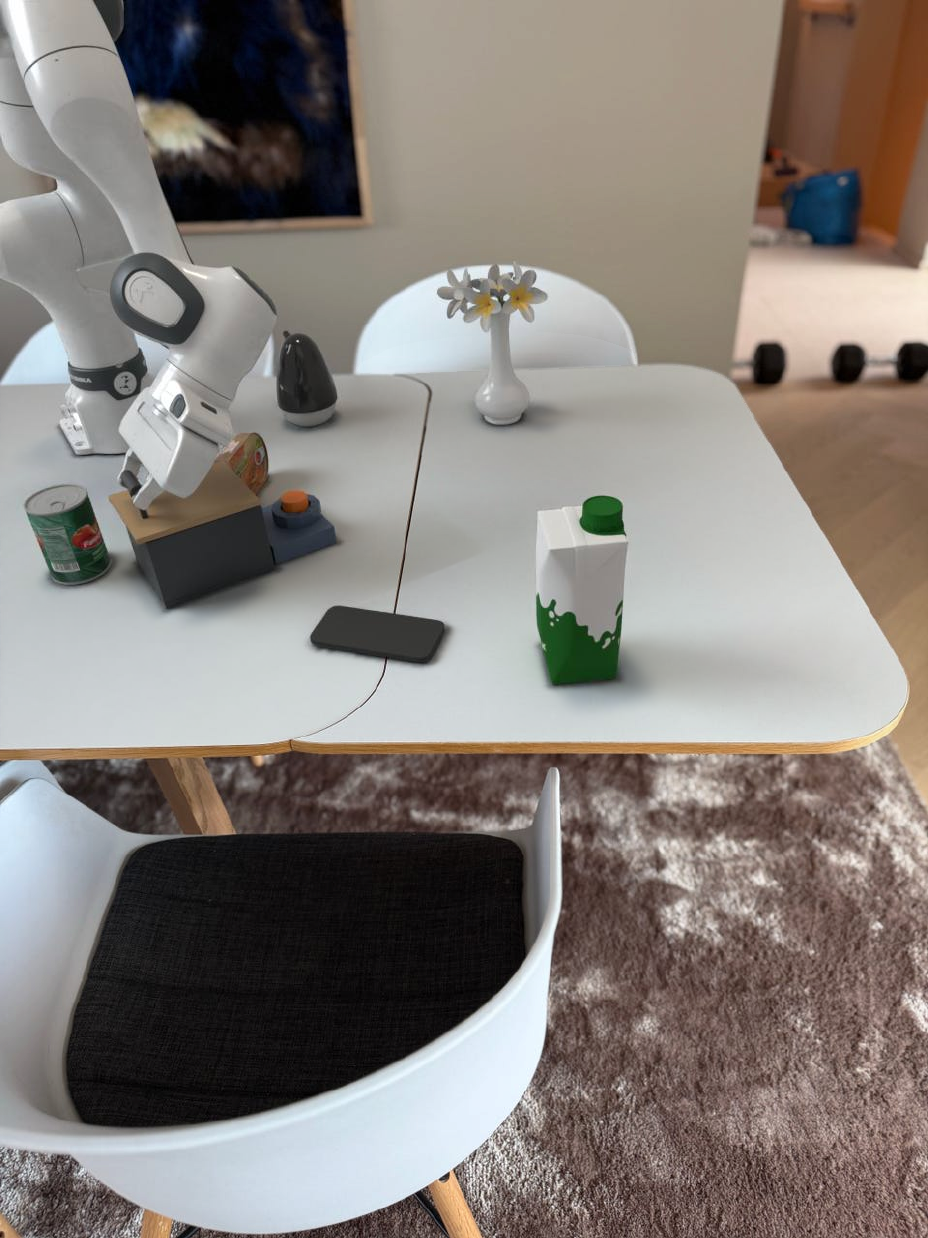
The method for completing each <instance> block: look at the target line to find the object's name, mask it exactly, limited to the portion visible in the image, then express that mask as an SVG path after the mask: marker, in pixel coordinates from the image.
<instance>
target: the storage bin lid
mask: <svg viewBox="0 0 928 1238" xmlns="http://www.w3.org/2000/svg"><path fill="white" fill-rule="evenodd" d="M120 478H121V480H122V481H123V483H124V484H125V486H126V487H127V488H126V489H125V490H122V491H118V492H115V493H112V494H109V495H108V496H107V498H108V500H109V502H110V504H111V505H112V507H113V508H114V510H115V511H116V513H117V515H118V516H119V518H120V520H122V522H123V524H124V526H125V525H126V526H125V528H126V527H127V529H128V530H129V532H130V533H131V535H132V536H133V538H134V539H135V541H136V543H137V544H138V545H139V544H142V543H145V542H148V541H151V540H154V539H158V538H161V537H164V536H167V535H170V534H173V533H176V532H179V531H182V530H185V529H188V528H191V527H194V526H197V525H200V524H203V523H206V522H210V521H213V520H216V519H219V518H222V517H225V516H228V515H231V514H234V513H237V512H240V511H243V510H246V509H249V508H252V507H255V506H259V505H261V506H262V504H261V500H260V498H259V497H258V496H257V494H256V495H255V494H254V493H253V492H252V491H251V490H250V489H249V488H248V487H247V486H246V484H245V483H244V482H243V481H242V480H241V479H240V478H239V477H238V476H237V475H236V474H235V473H234V472H233V470H232V469H231V468H230V467H229V466H228V465H227V464H226V463H225V462H224V461H221V462H218V463H214V464H213V465H212V466H211V468H210V470H209V471H208V473H207V474H206V476H205V477H204V479H203V480H202V482H201V483H200V485H199V486H198V488H197V489H196V490H195V491H194V493H192V494H191V495H190V496H188V497H186V498H181V497H179V496H176V495H174V494H172V493H170V492H168V491H166V490H165V491H164V492H163V493H161V494H160V495H159V496H157V497H156V498H155V499H153V500H152V502H151V504H150V505H149V507H148V508H147V509H146V510H142V509H140V508H137V507H135V505H134V504H133V502H132V501H131V497H132V496H133V495H134V493H135V491H136V489H139V490H140V489H141V488H142V487H143V486H144V484H141V482H140V481H139V479H138V480H137V478H136V477H135V476H134V474H133V473H132V472H131V471H129V470H125V471H123V472H122V473H121V475H120ZM127 529H126V530H127Z"/></svg>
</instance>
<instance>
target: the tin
mask: <svg viewBox="0 0 928 1238" xmlns="http://www.w3.org/2000/svg"><path fill="white" fill-rule="evenodd" d="M221 461H224V462H225V463H226V464H227V465H228V466H229V467H230V468H231V469H232V470H233V472H234V473H235V474H236V475H237V476H238V477H239V478H240V479H241V480H242V481H243V482H244V483H245V484H246V486H247V487H248V488H249V489H250V490H251V491H252V492H253V493H254V494H255V495H256V496H257V495H258V493H259V492H260V490H261V489H262V488H263V486H264V485H265V483H266V481H267V479H268V475H269V466H270V465H269V454H268V449H267V445H266V443H265V441H264V439H263V437H262V436H261V435H260V434H259V433H258V432H255V431H254V432H244V433H242V432H241V433H238V434H236V435H235V436H233V437H232V439H231V440H230V442H229V443H228V445H227V446H225V447H224V449H223V450H222V451H221V452H220V454H218V455H217V458H216V460H215V461H214V463H218V462H221ZM214 463H213V464H214Z"/></svg>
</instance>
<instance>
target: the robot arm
mask: <svg viewBox="0 0 928 1238" xmlns="http://www.w3.org/2000/svg"><path fill="white" fill-rule="evenodd" d="M124 23H125V16H124V1H123V0H0V138H1V139H0V140H1V142H2V146H3V148H4V150H5V152H6V153H7V155H8V156H9V158H10V159H12V161H13V162H15V163H16V164H17V165H19V167H21V168H23V169H26V170H28V171H30V172H32V173H35V174H38V175H41V176H45V177H48V178H52V179H54V180H55V182H56V190H53V191H51V192H46V193H42V194H41V193H40V194H36V195H31V196H26V197H20V198H15V199H9V200H7V201H4V202H1V203H0V279H2V280H4V281H6V282H8V283H11V284H13V285H15V286H17V287H18V288H21V289H22V290H24V291H26V292H27V293H28V294H30V295H31V296H32V297H34V298H35V299H36V300H37V302H38V303H40V304H41V305H42V306H43V307H44V309H45V310H46V311H47V312H48V315H49V316H50V317H51V319H52V321H53V323H54V325H55V328H56V330H57V332H58V334H59V337H60V340H61V342H62V344H63V348H64V350H65V353H66V356H67V360H68V361H67V372H68V376H69V379H70V383H71V384H70V386H69V387H68V389H67V390H66V391H65V394H64V398H65V401H66V403H64V404H62V405H59V409H60V412H61V415H62V417H63V418H61V419H60V420H59V426H60V429H61V430H62V433H63V434H64V436H65V437H66V440H67V441H68V443H69V445H70V446H71V448H72V450H73V451H74V454H76V455H79V456H83V455H92V454H106V455H115V454H124V453H125V456H124V460H123V465H122V469H121V470H120V471H119V474H118V476H117V477H116V480H117V482H118V484H119V485H120V486H121V487H123V488H125V489H127V487H126V486H125V484H124V483H123V481H122V480H121V478H120V475H121V473H122V472H123V471H125V470H129V471H131V472H132V473H133V474H134V476H135V477H136V478H137V480H138V481H139V477H138V475H139V472H140V470H141V467H142V465H143V466H144V467H145V469H146V470H147V471H148V474H147V476H146V479H145V481H146V482H144V484H143V485H144V486H143V487H142V488H141V489H140V490H139V489H136V491H135V493H134V495H133V496H132V497H131V501H132V502H133V504H134V505H135V507H137V508H140V509H142V510H146V509H147V508H148V507H149V505H150V504H151V502H152V500H153V499H155V498H156V497H157V496H159V495H160V494H161V493H163V492H164V491H165V490H166V491H168V492H170V493H172V494H174V495H176V496H179V497H181V498H186V497H188V496H190V495H191V494H192V493H194V491H195V490H196V489H197V488H198V486H199V485H200V483H201V482H202V480H203V479H204V477H205V476H206V474H207V473H208V471H209V470H210V468H211V466H212V465H213V463H214V461H215V460H216V459H217V457H218V456H219V453H220V452H219V451H220V447H219V446H221V447H223V448H226V447H227V445H228V444H229V443H230V442H231V441H232V440H233V438H234V429H233V425H232V423H231V418H230V410H229V408H230V406H231V404H232V403H233V402H234V400H235V398H236V394H237V390H238V388H239V386H240V383H241V381H242V380H243V379H244V378H245V377H246V376H247V375H248V374H249V373H250V372H251V371H252V370H253V368H254V367H255V365H256V363H257V362H258V360H259V358H260V357H261V355H262V353H263V351H264V349H265V348H266V346H267V344H268V342H269V339H270V338H271V336H272V333H273V332H274V328H275V326H276V322H277V319H278V314H277V308H276V306H275V303H274V301H273V300H272V298H270V296H269V295H268V294H267V293H266V292H265V291H264V290H263V289H262V288H261V286H260V285H259V284H257V283H256V282H255V281H254V280H252V278H250V277H249V275H247V274H246V272H244V271H242V270H241V269H239V268H238V267H234V266H231V265H230V266H225V267H214V266H203V265H199V264H195V263H194V261H193V259H192V257H191V255H190V253H189V251H188V248H187V245H186V244H185V243H186V242H185V241H184V239H183V237H182V234H181V231H180V229H179V227H178V224H177V222H176V219H175V217H174V215H173V212H172V210H171V207H170V205H169V202H168V200H167V197H166V196H165V192H164V190H163V188H162V184H161V183H160V180H159V178H158V175H157V172H156V171H157V170H156V168H155V166H154V165H155V164H154V162H153V158H152V156H151V152H150V149H149V145H148V142H147V140H146V136H145V132H144V130H143V129H144V128H143V127H142V122H141V118H140V115H139V111H138V107H137V105H136V102H135V97H134V95H133V92H132V88H131V86H130V83H129V80H128V76H127V73H126V71H125V68H124V65H123V63H122V60H121V57H120V55H119V52H118V49H117V47H116V45H115V42H116V41H117V40H118V38H119V37H120V35H121V33H122V32H123V29H124V25H125V24H124ZM122 260H123V261H122ZM117 261H122V262H121V263H119V265H118V267H117V268H116V269H115V271H114V273H113V275H112V278H111V281H110V286H109V292H108V291H105V290H102V289H99V288H94V287H89V286H86V285H83V284H82V282H81V279H80V277H79V275H78V274H79V273H78V272H79V271H82V270H83V269H84V270H85V269H88V268H93V267H96V266H101V265H106V264H110V263H114V262H117ZM135 334H136V335H138V336H140V337H143V338H145V339H147V340H149V341H151V342H154V343H156V344H160V346H163V347H164V348H165V349H167V350H169V354H168V356H167V358H166V359H165V361H164V362H163V364H162V365H161V368H160V370H159V371H158V372H157V374H156V376H155V375H154V374H151V373H149V372H148V370H149V369H148V366H147V360H146V357H145V354H144V352H143V349H142V348H141V347H139V344H138V341H137V337H136V335H135Z"/></svg>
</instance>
